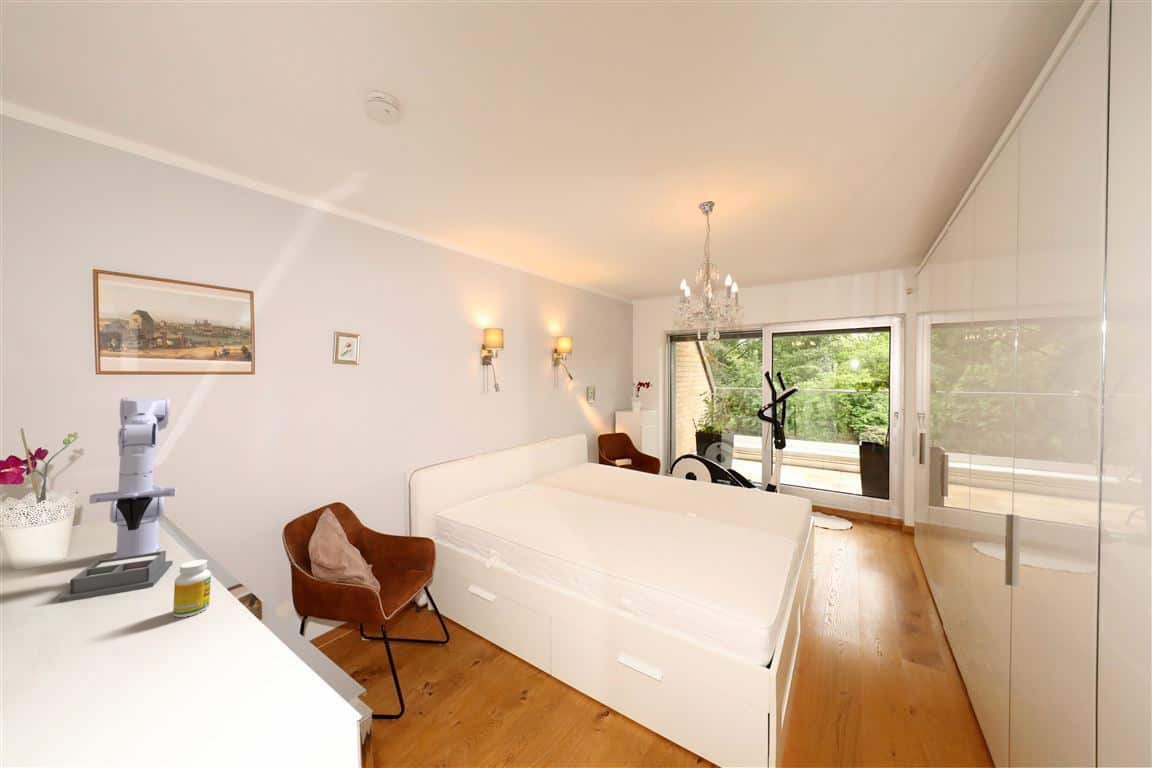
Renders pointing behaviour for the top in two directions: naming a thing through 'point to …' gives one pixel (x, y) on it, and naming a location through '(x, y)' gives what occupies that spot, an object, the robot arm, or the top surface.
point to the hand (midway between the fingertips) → (133, 529)
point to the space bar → (127, 561)
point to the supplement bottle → (192, 589)
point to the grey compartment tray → (117, 576)
